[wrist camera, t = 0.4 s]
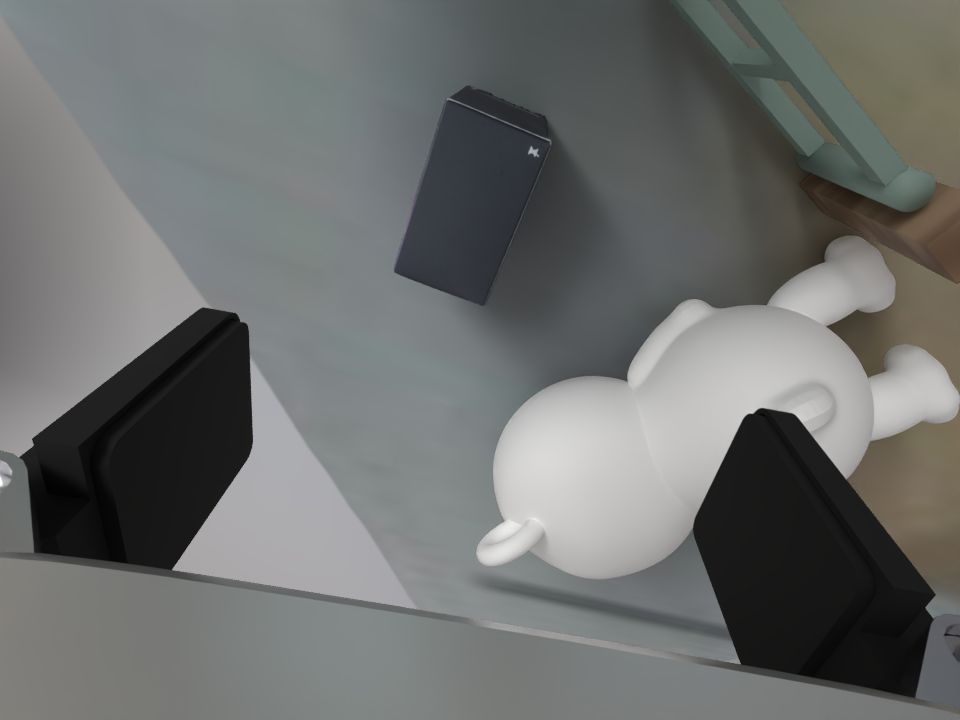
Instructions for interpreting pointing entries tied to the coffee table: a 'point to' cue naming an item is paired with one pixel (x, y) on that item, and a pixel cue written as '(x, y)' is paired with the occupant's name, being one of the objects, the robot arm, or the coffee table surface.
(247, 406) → the robot arm
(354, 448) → the coffee table surface
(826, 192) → the gate post
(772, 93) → the gate
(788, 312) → the teddy bear
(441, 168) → the small box
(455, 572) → the coffee table surface
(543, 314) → the coffee table surface
